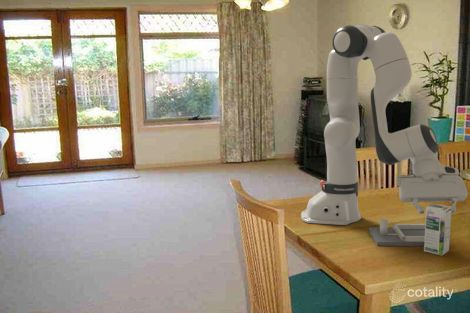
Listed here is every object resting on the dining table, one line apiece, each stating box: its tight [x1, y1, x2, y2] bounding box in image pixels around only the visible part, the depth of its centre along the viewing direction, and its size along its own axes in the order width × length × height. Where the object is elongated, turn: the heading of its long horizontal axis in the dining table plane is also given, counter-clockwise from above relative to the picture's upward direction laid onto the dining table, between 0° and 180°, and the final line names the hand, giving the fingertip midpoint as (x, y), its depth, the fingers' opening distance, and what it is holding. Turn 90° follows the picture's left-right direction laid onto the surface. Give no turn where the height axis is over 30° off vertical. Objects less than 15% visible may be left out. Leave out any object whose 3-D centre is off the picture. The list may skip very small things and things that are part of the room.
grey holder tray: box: [368, 218, 425, 247], centre depth 155 cm, size 21×14×6 cm, turn 85°
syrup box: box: [423, 202, 452, 257], centre depth 143 cm, size 6×6×14 cm
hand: (437, 212), depth 144 cm, fingers open, 8 cm apart
